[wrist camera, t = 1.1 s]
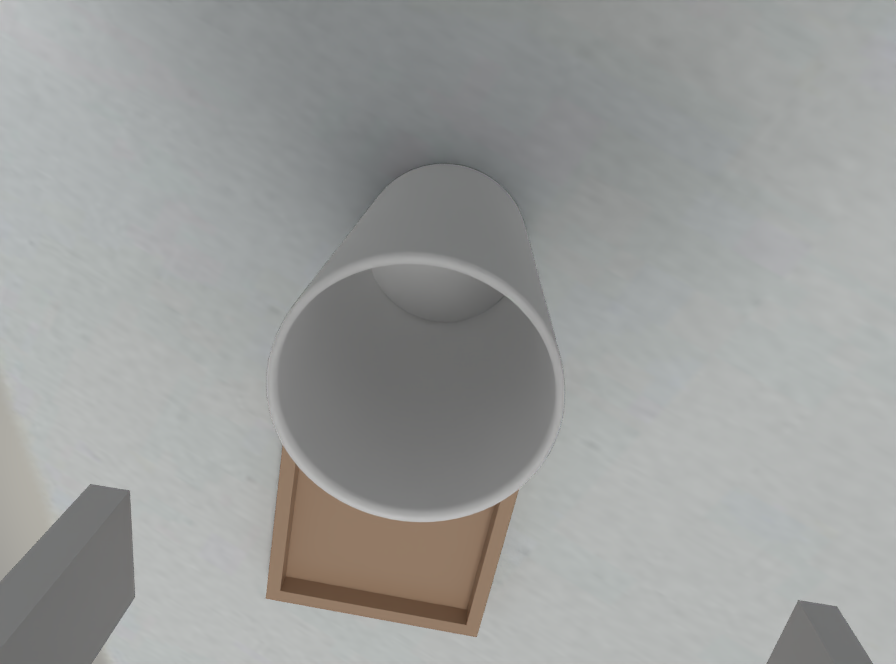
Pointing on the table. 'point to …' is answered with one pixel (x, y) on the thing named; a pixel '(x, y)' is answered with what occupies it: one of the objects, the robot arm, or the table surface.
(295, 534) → the tray
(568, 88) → the table surface
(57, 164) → the table surface
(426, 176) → the cup
